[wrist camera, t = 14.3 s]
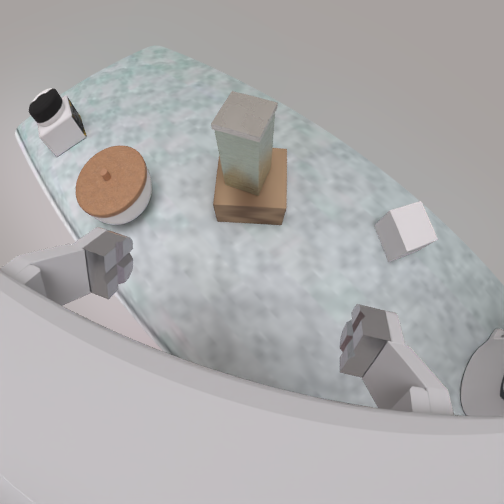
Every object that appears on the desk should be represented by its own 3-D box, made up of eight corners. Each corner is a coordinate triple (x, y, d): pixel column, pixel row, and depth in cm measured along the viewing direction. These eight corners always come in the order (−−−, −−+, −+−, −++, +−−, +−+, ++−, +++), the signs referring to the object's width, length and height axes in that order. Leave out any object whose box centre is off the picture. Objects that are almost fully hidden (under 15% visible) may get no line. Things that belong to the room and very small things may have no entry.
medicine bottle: (87, 137, 47) (59, 97, 35) (57, 158, 46) (25, 122, 34) (80, 116, 48) (55, 77, 37) (52, 135, 47) (24, 100, 36)
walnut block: (282, 171, 45) (286, 149, 39) (281, 225, 43) (286, 208, 37) (223, 167, 45) (220, 145, 39) (217, 222, 43) (213, 204, 37)
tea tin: (272, 167, 38) (277, 102, 27) (259, 197, 37) (259, 137, 25) (238, 156, 39) (232, 91, 27) (223, 185, 38) (211, 123, 26)
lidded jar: (128, 161, 45) (108, 127, 36) (174, 192, 44) (158, 159, 35) (86, 211, 43) (56, 185, 34) (128, 248, 41) (100, 226, 32)
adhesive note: (373, 225, 43) (389, 210, 37) (403, 216, 43) (421, 200, 38) (388, 262, 41) (407, 251, 35) (417, 251, 42) (438, 239, 36)
